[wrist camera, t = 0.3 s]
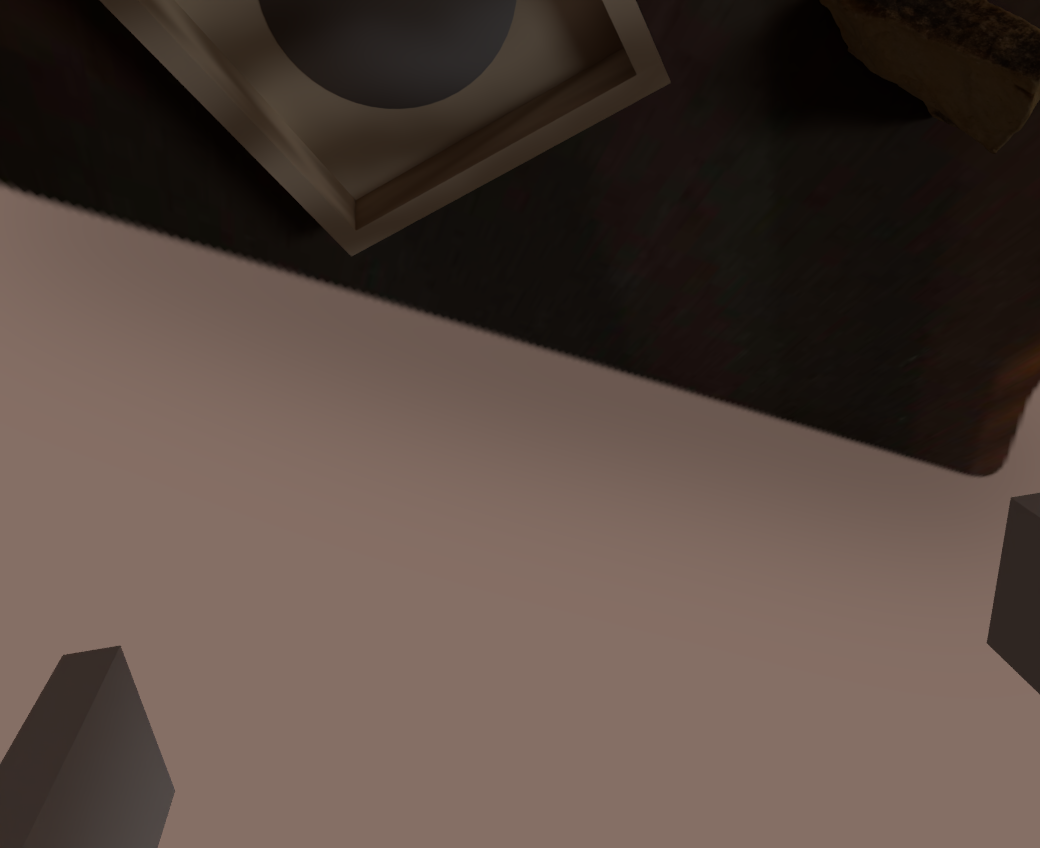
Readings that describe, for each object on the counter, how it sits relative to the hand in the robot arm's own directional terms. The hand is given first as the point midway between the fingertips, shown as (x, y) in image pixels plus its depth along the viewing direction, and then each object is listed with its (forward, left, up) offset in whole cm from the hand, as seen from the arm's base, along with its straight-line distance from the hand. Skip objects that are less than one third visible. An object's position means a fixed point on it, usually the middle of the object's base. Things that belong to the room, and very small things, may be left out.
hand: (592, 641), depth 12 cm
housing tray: (+3, -5, -33) cm, 33 cm away
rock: (+19, +15, -33) cm, 41 cm away
